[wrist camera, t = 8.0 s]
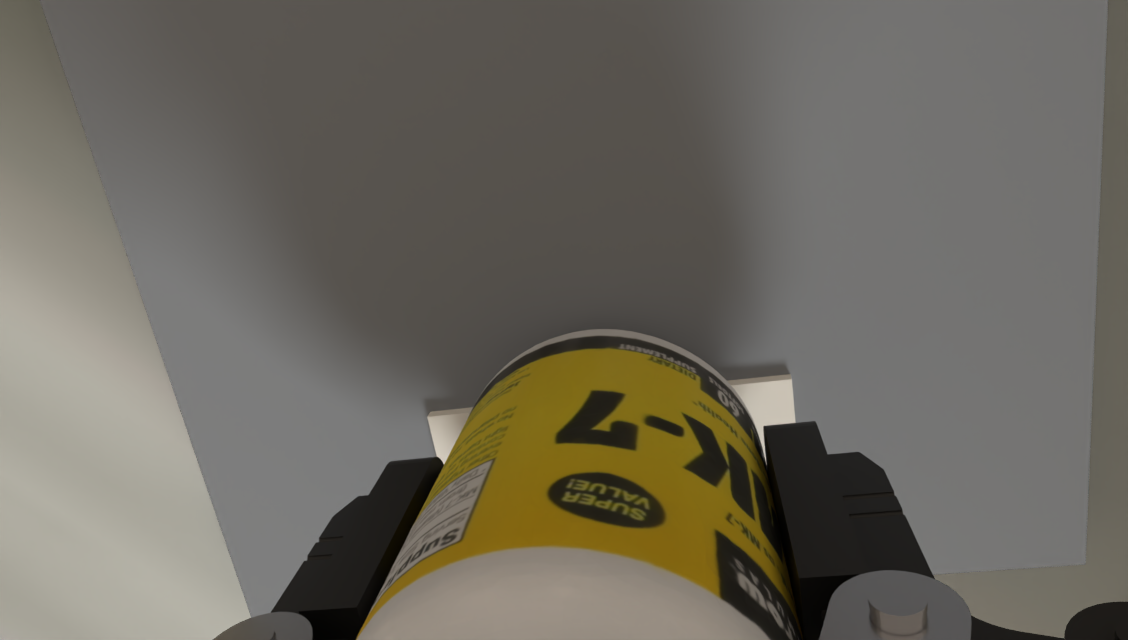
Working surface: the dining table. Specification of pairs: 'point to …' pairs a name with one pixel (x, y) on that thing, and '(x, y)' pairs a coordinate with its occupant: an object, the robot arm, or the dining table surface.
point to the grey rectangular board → (612, 232)
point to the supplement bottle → (596, 508)
